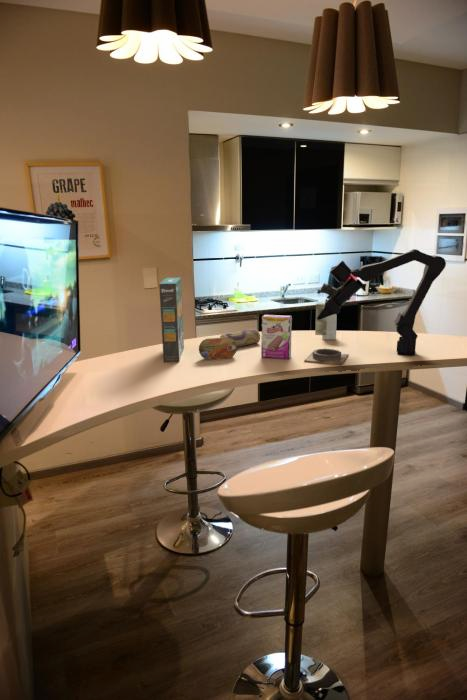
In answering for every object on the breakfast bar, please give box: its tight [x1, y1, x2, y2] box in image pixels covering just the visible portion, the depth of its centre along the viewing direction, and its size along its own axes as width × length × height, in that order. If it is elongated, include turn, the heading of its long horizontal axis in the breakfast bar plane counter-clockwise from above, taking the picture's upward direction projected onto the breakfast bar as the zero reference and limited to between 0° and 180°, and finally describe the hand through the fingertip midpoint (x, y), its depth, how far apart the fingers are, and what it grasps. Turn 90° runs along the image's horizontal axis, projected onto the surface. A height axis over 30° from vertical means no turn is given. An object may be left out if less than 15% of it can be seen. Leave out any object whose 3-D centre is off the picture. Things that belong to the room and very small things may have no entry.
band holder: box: [303, 348, 349, 366], centre depth 177 cm, size 14×14×3 cm
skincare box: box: [321, 314, 338, 340], centre depth 208 cm, size 6×4×12 cm
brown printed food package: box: [198, 336, 238, 361], centre depth 179 cm, size 15×3×8 cm, turn 105°
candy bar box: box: [260, 314, 293, 360], centre depth 179 cm, size 11×5×16 cm, turn 74°
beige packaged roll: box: [219, 328, 261, 348], centre depth 196 cm, size 26×8×7 cm, turn 127°
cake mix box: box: [158, 277, 185, 363], centre depth 183 cm, size 22×6×30 cm, turn 1°
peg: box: [314, 302, 327, 336], centre depth 186 cm, size 4×4×12 cm
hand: (318, 317), depth 187 cm, fingers closed on peg, 4 cm apart
